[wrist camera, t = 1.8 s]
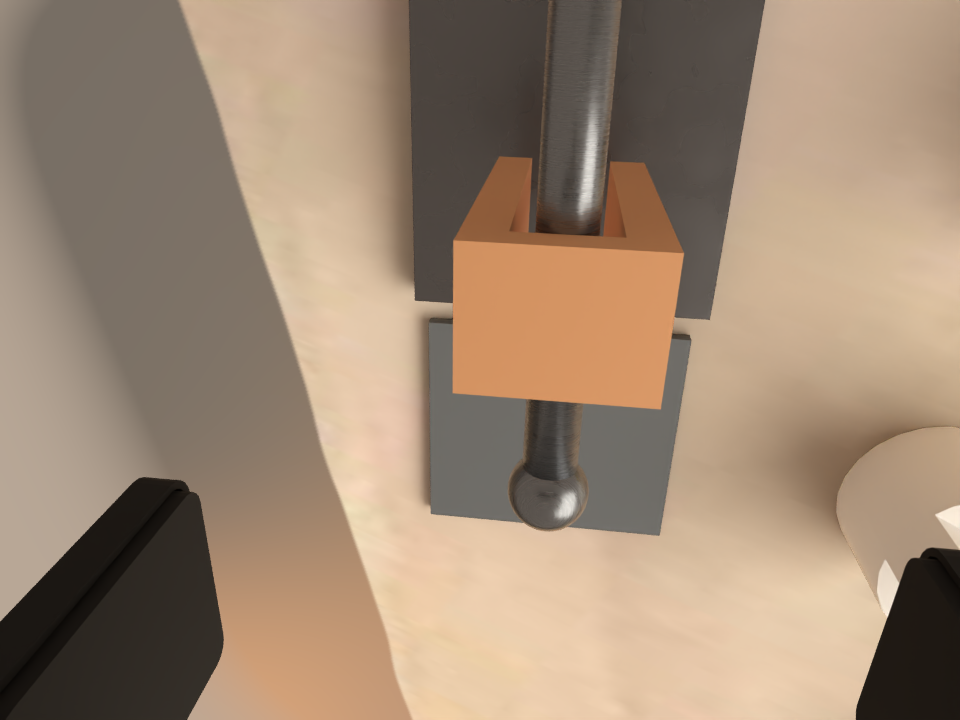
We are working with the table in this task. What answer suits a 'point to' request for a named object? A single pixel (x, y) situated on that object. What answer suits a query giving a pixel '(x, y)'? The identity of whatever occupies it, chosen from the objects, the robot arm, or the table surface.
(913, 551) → the base with upright slab
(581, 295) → the hook link
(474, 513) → the rubber mat
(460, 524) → the table surface
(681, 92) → the hanger stand
